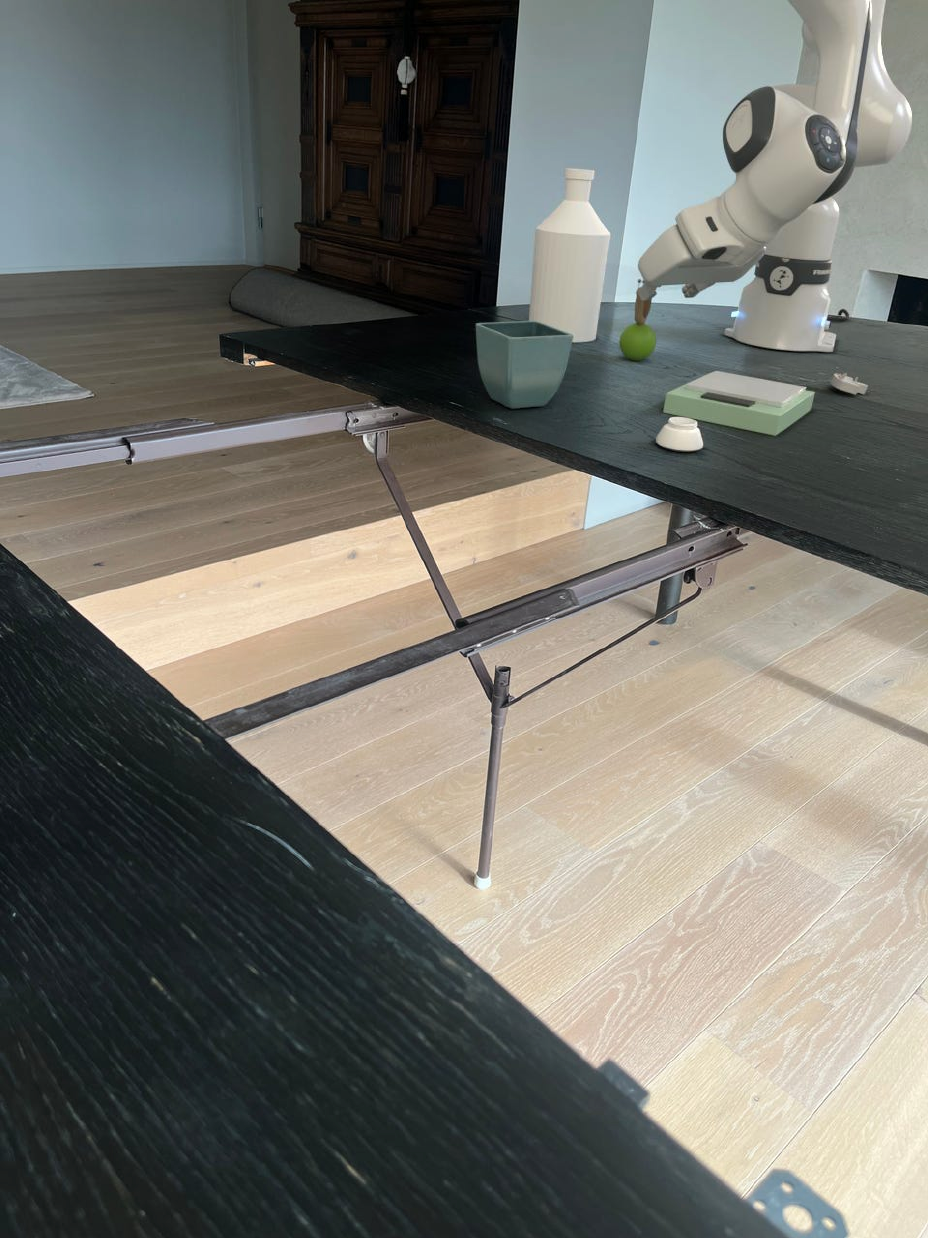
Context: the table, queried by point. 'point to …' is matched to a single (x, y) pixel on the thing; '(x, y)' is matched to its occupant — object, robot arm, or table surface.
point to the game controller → (847, 384)
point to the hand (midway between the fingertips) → (665, 295)
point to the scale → (740, 402)
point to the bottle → (570, 262)
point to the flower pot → (522, 361)
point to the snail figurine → (638, 333)
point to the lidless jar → (680, 435)
